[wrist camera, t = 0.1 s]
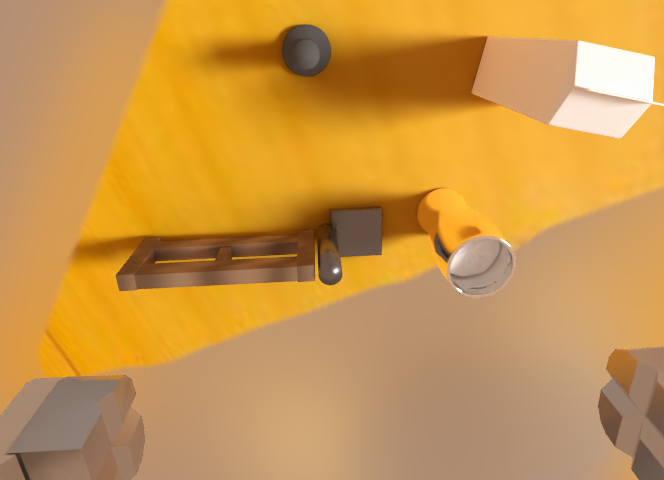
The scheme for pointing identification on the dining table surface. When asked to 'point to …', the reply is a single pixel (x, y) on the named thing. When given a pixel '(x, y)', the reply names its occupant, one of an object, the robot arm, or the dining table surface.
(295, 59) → the post
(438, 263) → the beer glass
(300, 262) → the gate
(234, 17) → the dining table surface
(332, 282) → the hinge post
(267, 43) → the dining table surface
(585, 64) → the milk
